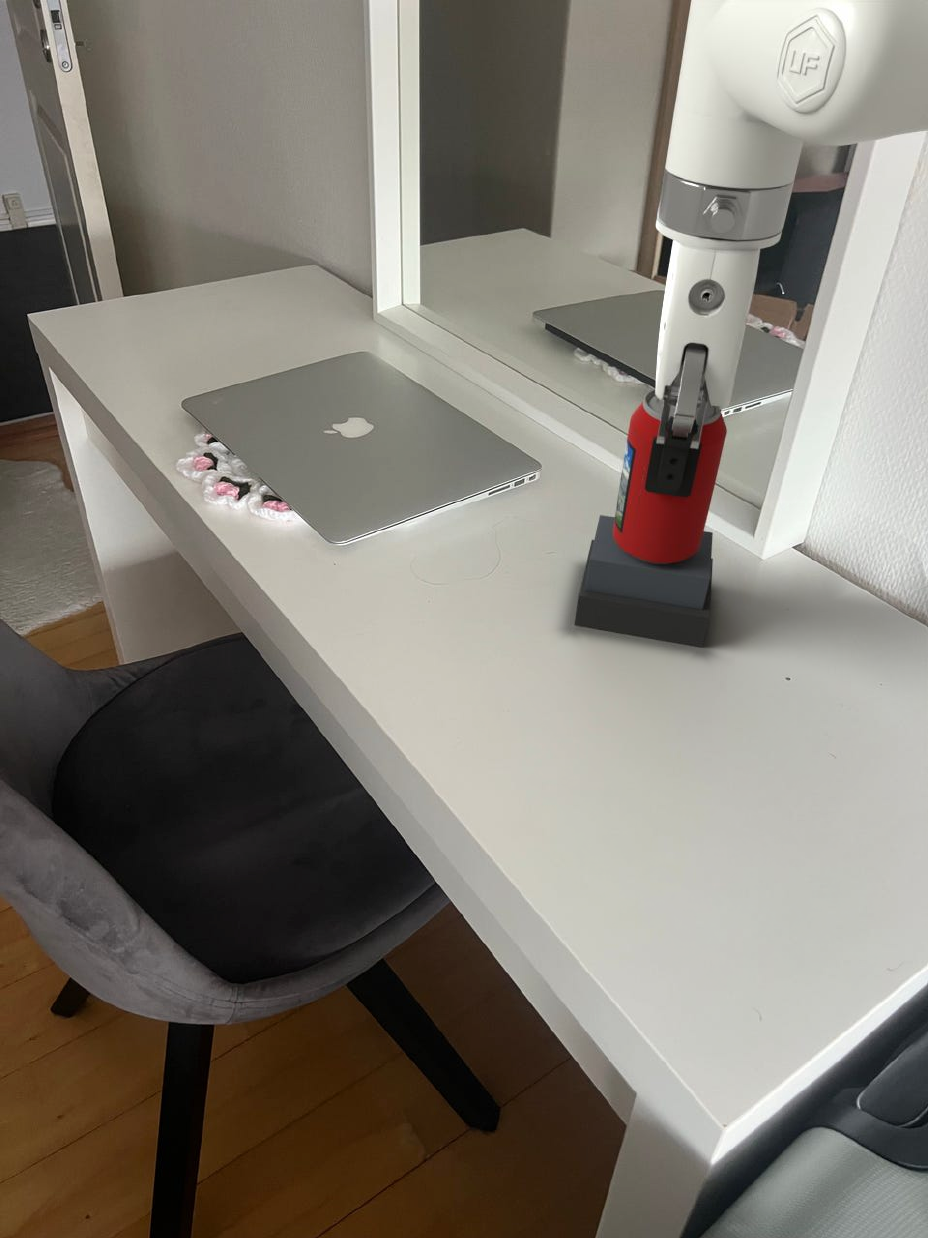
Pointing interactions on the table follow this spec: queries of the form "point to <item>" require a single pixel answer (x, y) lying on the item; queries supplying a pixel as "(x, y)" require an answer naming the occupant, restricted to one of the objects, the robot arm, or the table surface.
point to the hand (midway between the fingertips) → (670, 464)
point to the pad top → (648, 572)
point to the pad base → (642, 615)
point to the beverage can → (660, 520)
